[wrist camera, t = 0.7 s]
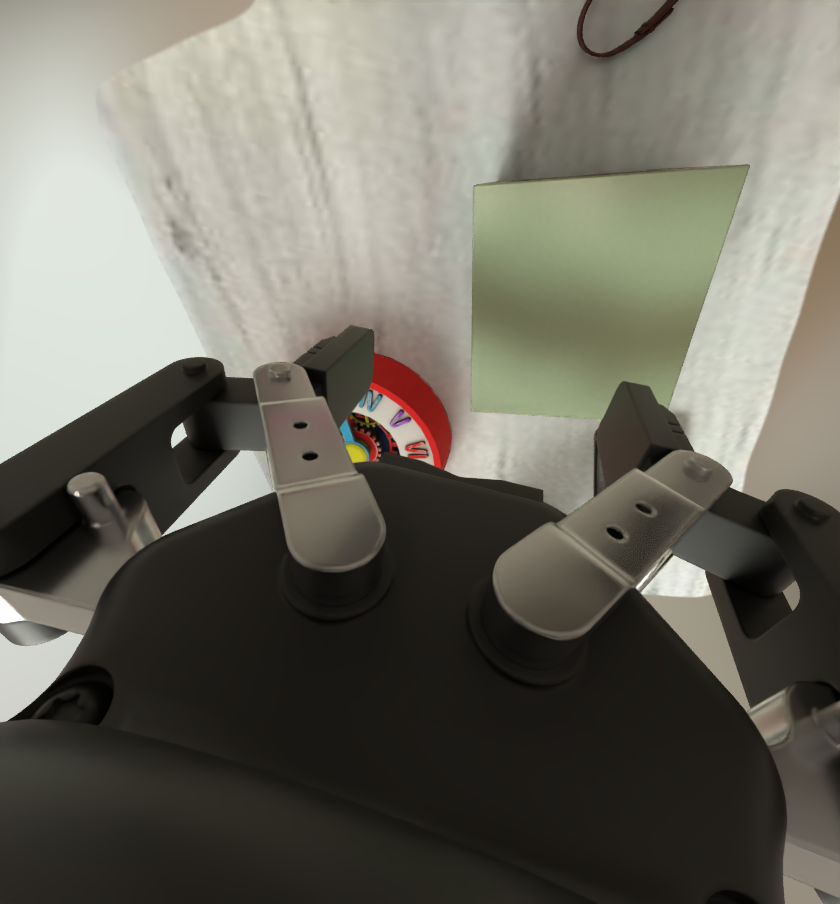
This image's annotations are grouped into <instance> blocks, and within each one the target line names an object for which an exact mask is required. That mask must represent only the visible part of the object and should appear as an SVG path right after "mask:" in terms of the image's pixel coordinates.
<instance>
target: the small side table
mask: <svg viewBox="0 0 840 904" xmlns="http://www.w3.org/2000/svg"><path fill="white" fill-rule="evenodd" d="M749 167H750V165H748V164H746V165H726V166H707V167H687V168H668V169H655V170H646V171H634V172H621V173H607V174H594V175H581V176H568V177H555V178H542V179H528V180H510V181H497V182H491V183H484V184H477V185H474V187H473V262H472V347H471V411H473V412H489V413H505V414H521V415H537V416H553V417H568V418H584V419H600V420H602V419H603V417H604V415H605V413H606V410H607V408H608V406H609V404H610V402H611V400H612V398H613V396H614V393H615V391H616V389H617V387H618V386H619V384H620V383H621V382H622V381H627V382H632V383H637V384H642V385H647V386H650V388H651V390H652V392H653V394H654V396H655V398H656V400H657V402H658V404H660V405H663V406H664V407H666V408H667V409H668V407H669V404H670V401H671V398H672V395H673V392H674V389H675V386H676V383H677V380H678V378H679V375H680V372H681V369H682V366H683V363H684V360H685V357H686V354H687V351H688V348H689V345H690V342H691V339H692V336H693V333H694V330H695V327H696V324H697V321H698V318H699V315H700V312H701V309H702V306H703V304H704V301H705V298H706V295H707V292H708V289H709V286H710V283H711V280H712V277H713V274H714V271H715V268H716V265H717V262H718V259H719V256H720V253H721V250H722V247H723V244H724V241H725V238H726V235H727V233H728V230H729V227H730V224H731V221H732V218H733V215H734V212H735V209H736V206H737V203H738V200H739V197H740V194H741V191H742V188H743V185H744V182H745V179H746V176H747V173H748V170H749Z"/></svg>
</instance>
